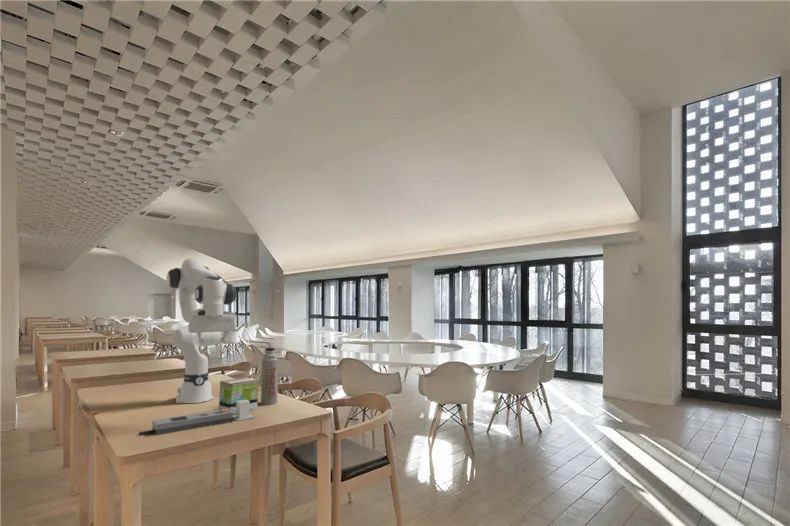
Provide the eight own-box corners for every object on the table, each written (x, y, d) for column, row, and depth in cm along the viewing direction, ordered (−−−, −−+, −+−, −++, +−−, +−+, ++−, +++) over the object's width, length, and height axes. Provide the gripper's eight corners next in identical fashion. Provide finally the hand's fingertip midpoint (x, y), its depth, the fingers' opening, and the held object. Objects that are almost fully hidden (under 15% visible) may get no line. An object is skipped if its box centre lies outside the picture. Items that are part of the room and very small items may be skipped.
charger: (236, 416, 205) (236, 400, 205) (245, 415, 208) (246, 399, 208) (239, 418, 201) (239, 402, 202) (249, 417, 204) (249, 400, 205)
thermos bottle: (277, 404, 230) (278, 348, 233) (260, 405, 228) (262, 349, 230) (277, 400, 238) (277, 347, 240) (261, 401, 236) (262, 347, 238)
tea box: (230, 415, 208) (231, 383, 209) (218, 412, 214) (219, 380, 216) (258, 409, 220) (258, 378, 221) (245, 406, 226) (246, 376, 227)
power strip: (136, 432, 182) (137, 420, 182) (226, 418, 204) (226, 407, 204) (140, 437, 176) (140, 425, 176) (232, 421, 198) (232, 410, 198)
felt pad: (230, 417, 205) (230, 416, 205) (248, 414, 210) (248, 413, 210) (237, 421, 199) (237, 420, 199) (254, 418, 204) (254, 417, 204)
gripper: (233, 311, 216) (232, 340, 215) (187, 311, 203) (186, 343, 202) (238, 311, 211) (237, 341, 210) (191, 312, 198) (190, 344, 197)
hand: (212, 342), depth 206 cm, fingers open, 8 cm apart
